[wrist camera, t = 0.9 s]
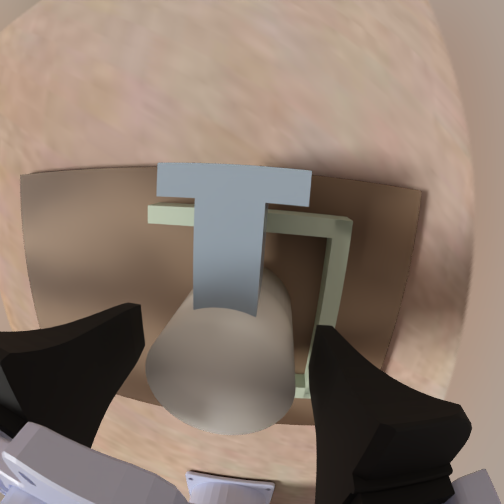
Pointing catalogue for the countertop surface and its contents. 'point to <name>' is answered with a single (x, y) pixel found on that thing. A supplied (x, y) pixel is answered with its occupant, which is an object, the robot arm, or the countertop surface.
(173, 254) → the board
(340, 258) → the cradle
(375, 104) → the countertop surface
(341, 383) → the robot arm
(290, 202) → the white blue t-bar grip
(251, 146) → the countertop surface
